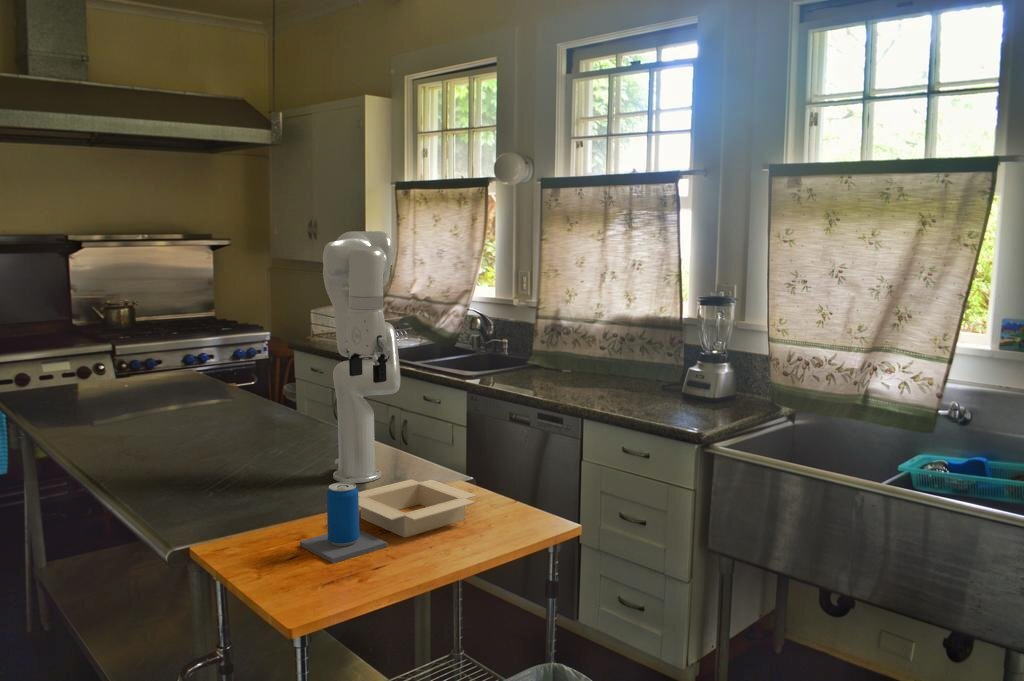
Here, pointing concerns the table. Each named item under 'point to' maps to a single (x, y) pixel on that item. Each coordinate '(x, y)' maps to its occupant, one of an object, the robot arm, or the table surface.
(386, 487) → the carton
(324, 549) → the mat
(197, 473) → the table surface
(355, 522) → the beverage can
